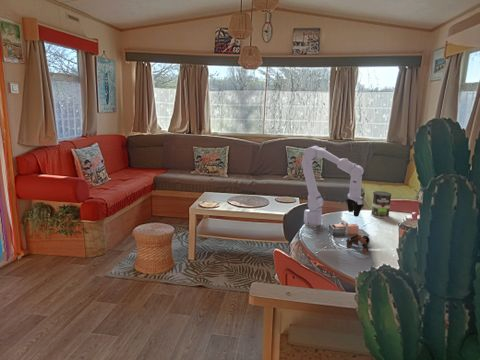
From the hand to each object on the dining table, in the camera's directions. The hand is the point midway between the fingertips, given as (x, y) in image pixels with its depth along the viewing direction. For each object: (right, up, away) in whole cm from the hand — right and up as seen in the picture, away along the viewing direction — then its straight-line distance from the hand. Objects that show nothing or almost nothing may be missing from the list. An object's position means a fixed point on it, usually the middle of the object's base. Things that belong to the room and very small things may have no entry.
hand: (353, 213), depth 187 cm
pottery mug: (-4, -15, -20) cm, 26 cm away
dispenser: (-3, -11, -1) cm, 11 cm away
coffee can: (+26, -4, +31) cm, 41 cm away
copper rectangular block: (-5, -10, -2) cm, 11 cm away
